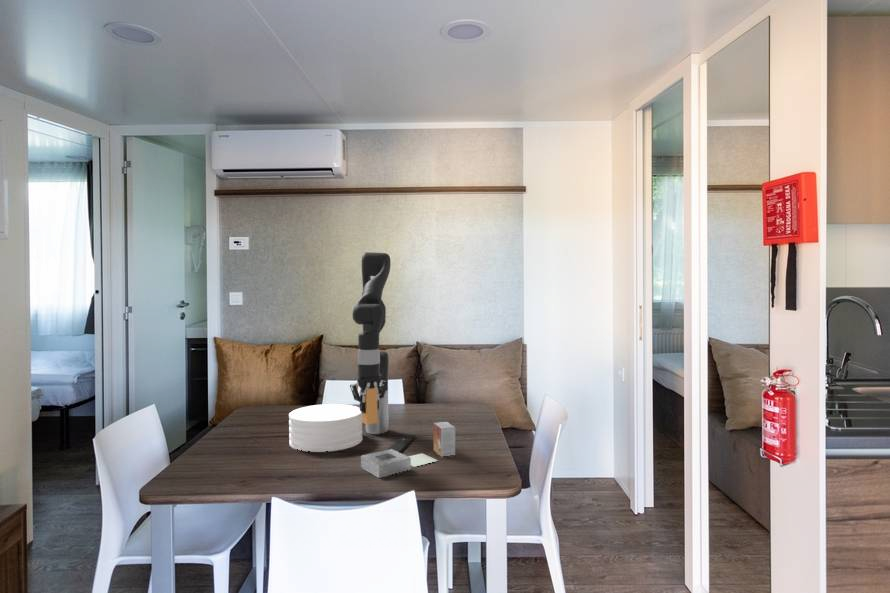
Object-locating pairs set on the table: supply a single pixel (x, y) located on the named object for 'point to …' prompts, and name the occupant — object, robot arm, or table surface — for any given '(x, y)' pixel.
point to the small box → (444, 439)
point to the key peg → (370, 407)
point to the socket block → (385, 463)
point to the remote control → (402, 443)
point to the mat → (421, 460)
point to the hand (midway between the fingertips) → (369, 411)
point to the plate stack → (325, 427)
